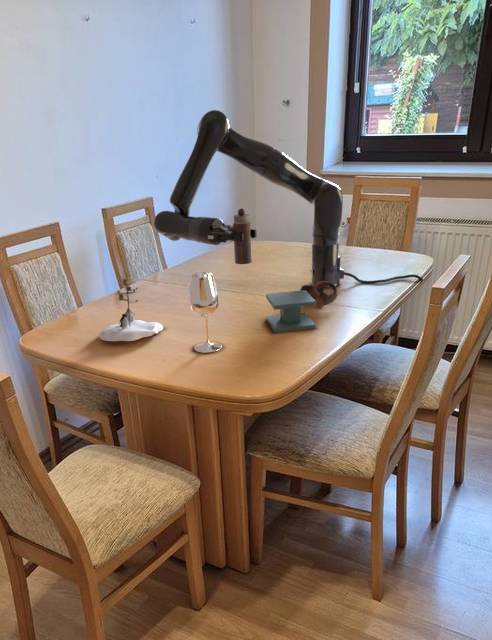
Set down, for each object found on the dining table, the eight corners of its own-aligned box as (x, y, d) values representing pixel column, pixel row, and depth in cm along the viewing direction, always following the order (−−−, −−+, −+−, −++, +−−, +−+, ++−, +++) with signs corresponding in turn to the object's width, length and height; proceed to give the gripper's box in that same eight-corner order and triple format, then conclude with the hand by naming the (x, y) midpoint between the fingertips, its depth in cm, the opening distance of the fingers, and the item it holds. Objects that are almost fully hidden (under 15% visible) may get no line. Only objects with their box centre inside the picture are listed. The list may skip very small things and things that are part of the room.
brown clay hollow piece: (335, 300, 191) (341, 281, 184) (330, 320, 186) (336, 302, 179) (300, 291, 191) (305, 272, 184) (294, 311, 187) (298, 292, 180)
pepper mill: (250, 259, 173) (248, 206, 165) (253, 263, 169) (251, 209, 161) (233, 261, 173) (231, 207, 165) (236, 264, 168) (233, 210, 161)
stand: (305, 315, 178) (305, 289, 174) (315, 328, 167) (315, 301, 163) (266, 320, 177) (265, 293, 173) (274, 333, 166) (274, 305, 162)
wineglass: (193, 344, 163) (186, 272, 153) (221, 341, 163) (215, 269, 153) (194, 354, 156) (187, 279, 146) (223, 351, 156) (218, 277, 146)
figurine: (143, 346, 161) (136, 286, 154) (87, 342, 167) (78, 284, 160) (173, 328, 178) (169, 274, 171) (121, 326, 184) (115, 273, 177)
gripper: (188, 221, 169) (232, 226, 159) (221, 213, 178) (265, 217, 168) (190, 248, 173) (233, 254, 163) (223, 238, 182) (265, 244, 171)
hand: (249, 235), depth 165 cm, fingers closed on pepper mill, 5 cm apart
